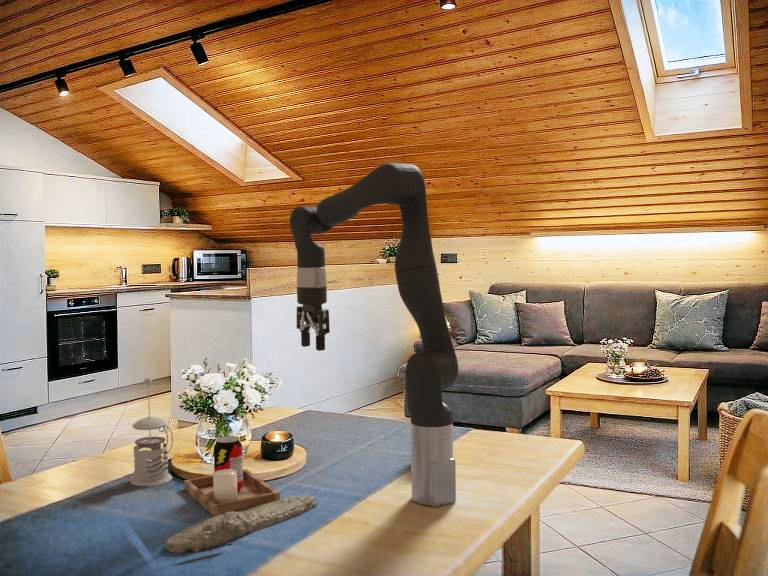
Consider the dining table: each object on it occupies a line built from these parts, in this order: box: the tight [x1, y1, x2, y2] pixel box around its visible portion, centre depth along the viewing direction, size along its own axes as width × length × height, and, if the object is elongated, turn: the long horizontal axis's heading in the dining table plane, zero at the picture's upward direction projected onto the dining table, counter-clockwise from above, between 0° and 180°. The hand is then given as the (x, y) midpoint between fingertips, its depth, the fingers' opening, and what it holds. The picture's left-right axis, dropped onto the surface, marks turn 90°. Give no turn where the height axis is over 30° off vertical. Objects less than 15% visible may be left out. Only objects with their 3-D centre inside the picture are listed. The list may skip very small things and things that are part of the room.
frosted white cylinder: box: [212, 469, 238, 504], centre depth 158 cm, size 5×5×7 cm
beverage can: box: [213, 435, 244, 491], centre depth 167 cm, size 6×6×12 cm
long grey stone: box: [165, 494, 318, 557], centre depth 147 cm, size 35×5×10 cm
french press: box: [130, 377, 174, 487], centre depth 179 cm, size 10×12×25 cm
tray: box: [183, 468, 281, 517], centre depth 164 cm, size 20×15×3 cm
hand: (313, 348), depth 188 cm, fingers open, 8 cm apart
